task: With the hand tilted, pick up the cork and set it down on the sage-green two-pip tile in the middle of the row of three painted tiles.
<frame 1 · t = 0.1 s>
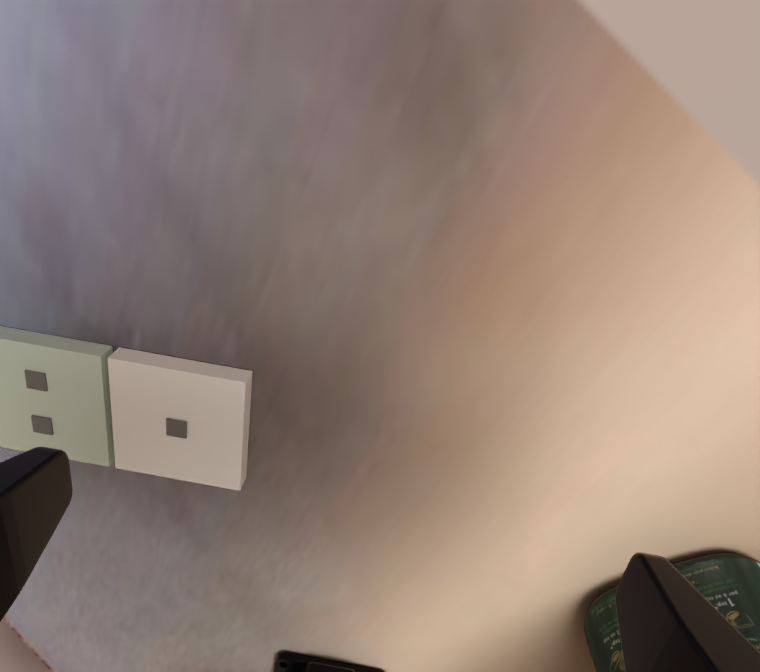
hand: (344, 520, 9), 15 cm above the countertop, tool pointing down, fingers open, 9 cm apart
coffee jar: (681, 607, 29), on the countertop
tile strip: (53, 391, 27), on the countertop
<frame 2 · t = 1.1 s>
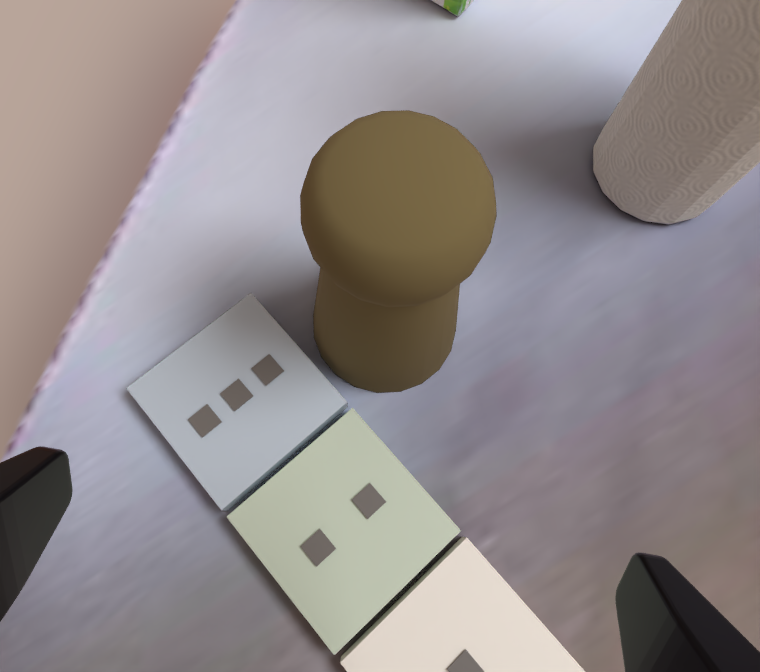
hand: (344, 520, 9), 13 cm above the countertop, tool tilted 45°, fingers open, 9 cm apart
paper towel roll: (662, 172, 27), on the countertop
cork: (384, 324, 24), on the countertop
tile strip: (344, 523, 22), on the countertop
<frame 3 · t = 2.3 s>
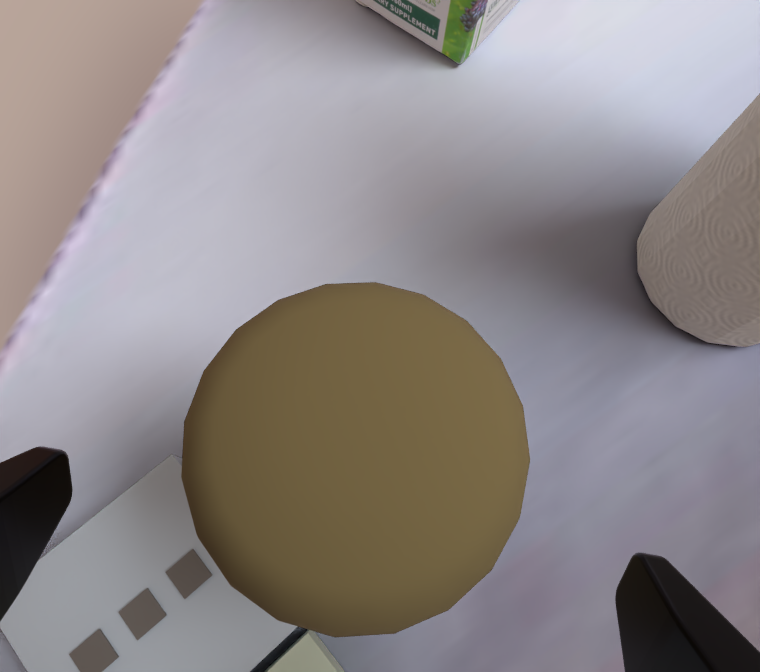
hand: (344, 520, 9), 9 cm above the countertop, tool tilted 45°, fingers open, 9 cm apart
paper towel roll: (727, 271, 21), on the countertop
cork: (358, 489, 18), on the countertop
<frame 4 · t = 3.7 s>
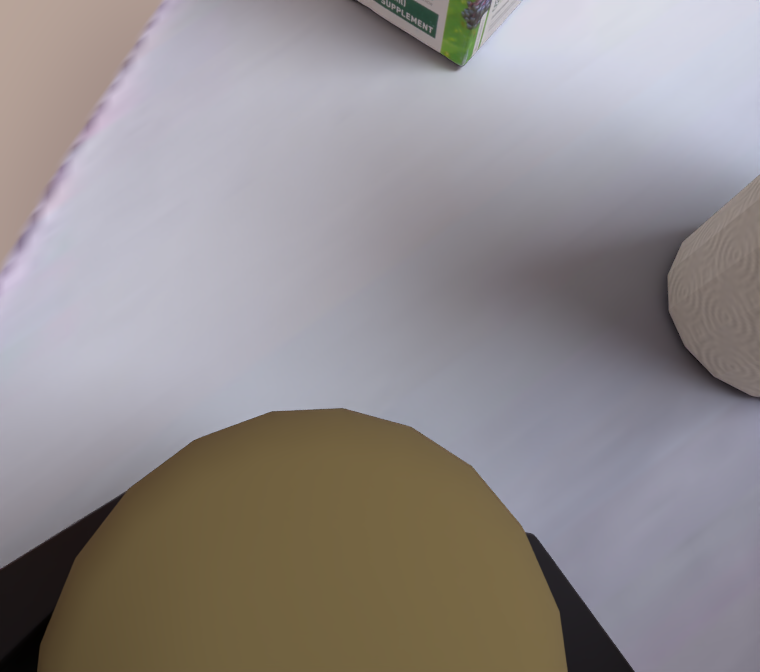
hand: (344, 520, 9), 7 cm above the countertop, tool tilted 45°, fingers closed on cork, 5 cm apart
cork: (341, 576, 15), on the countertop, touching gripper
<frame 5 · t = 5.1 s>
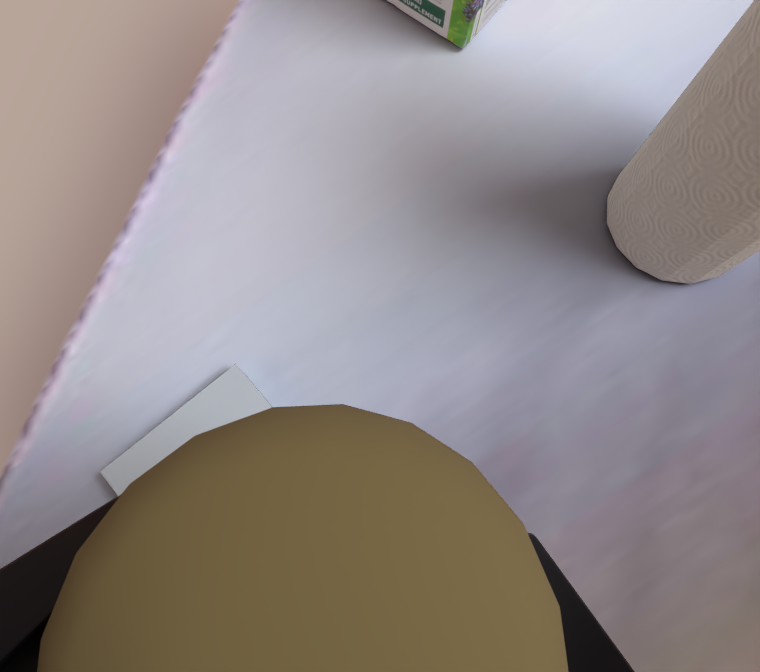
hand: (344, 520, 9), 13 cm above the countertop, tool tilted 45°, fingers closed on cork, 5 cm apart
paper towel roll: (681, 223, 25), on the countertop
cork: (341, 574, 15), point 6 cm above the countertop, touching gripper
tile strip: (334, 619, 20), on the countertop
when the fingers open (9 cm above the countertop, at t = 6.5 s): cork drops 1 cm, resting on tile strip.
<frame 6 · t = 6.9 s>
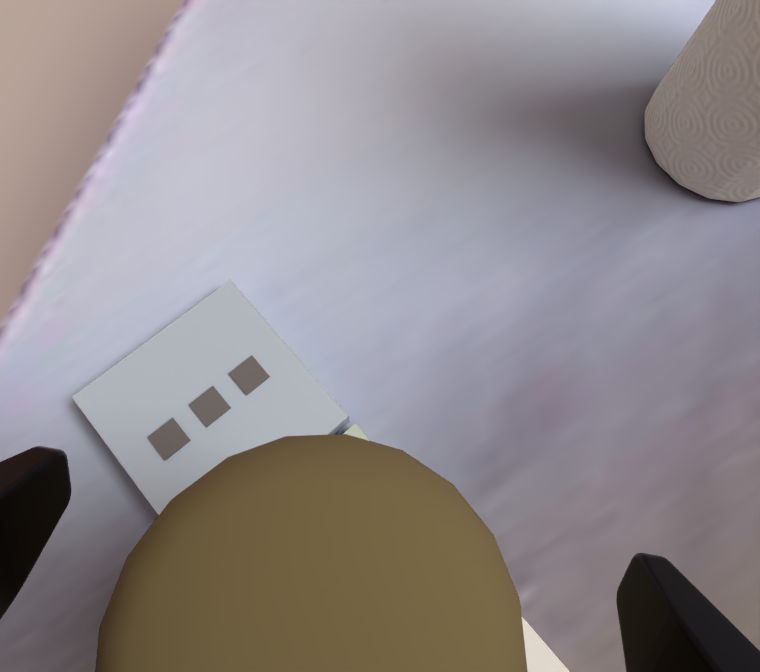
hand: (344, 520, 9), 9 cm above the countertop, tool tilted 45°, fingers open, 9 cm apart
paper towel roll: (727, 141, 23), on the countertop
cork: (342, 576, 16), point 1 cm above the countertop, touching tile strip
tile strip: (344, 569, 17), on the countertop
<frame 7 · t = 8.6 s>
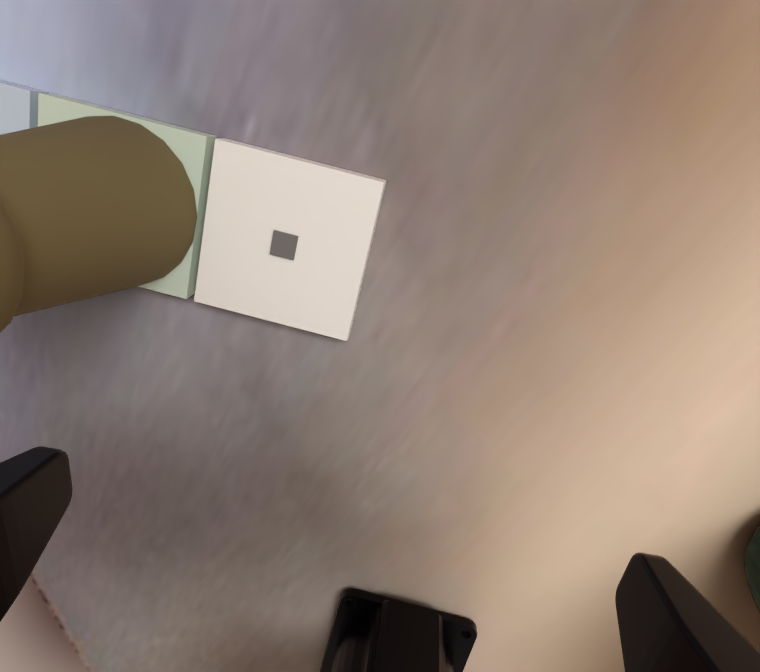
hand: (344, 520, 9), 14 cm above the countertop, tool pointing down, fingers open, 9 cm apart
cork: (118, 203, 21), point 1 cm above the countertop, touching tile strip
tile strip: (130, 198, 22), on the countertop
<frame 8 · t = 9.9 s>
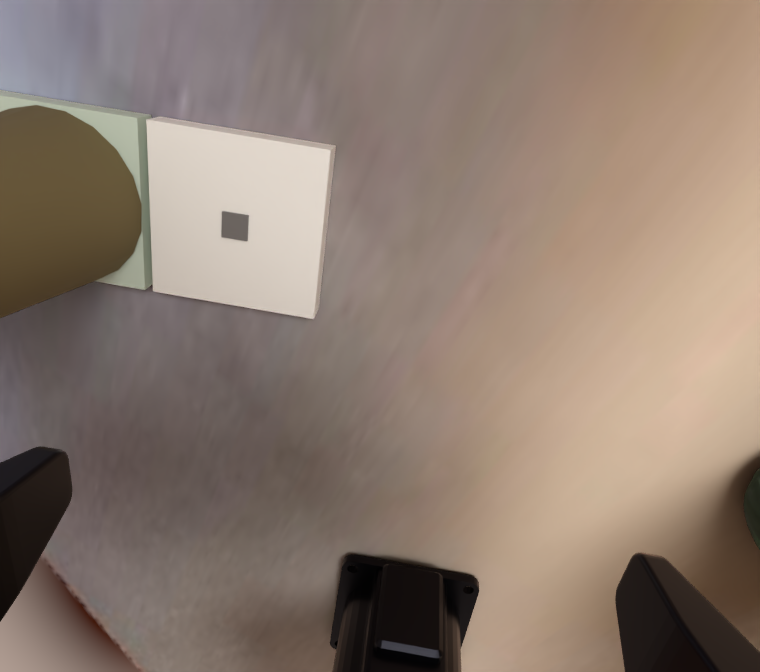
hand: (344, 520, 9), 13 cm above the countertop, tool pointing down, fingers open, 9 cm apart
cork: (60, 197, 20), point 1 cm above the countertop, touching tile strip
tile strip: (73, 189, 21), on the countertop
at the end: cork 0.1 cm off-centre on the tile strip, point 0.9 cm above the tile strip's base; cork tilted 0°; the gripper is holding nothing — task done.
